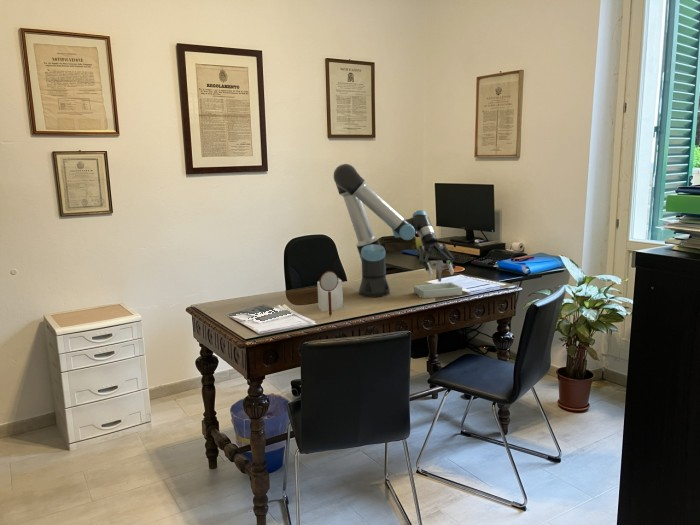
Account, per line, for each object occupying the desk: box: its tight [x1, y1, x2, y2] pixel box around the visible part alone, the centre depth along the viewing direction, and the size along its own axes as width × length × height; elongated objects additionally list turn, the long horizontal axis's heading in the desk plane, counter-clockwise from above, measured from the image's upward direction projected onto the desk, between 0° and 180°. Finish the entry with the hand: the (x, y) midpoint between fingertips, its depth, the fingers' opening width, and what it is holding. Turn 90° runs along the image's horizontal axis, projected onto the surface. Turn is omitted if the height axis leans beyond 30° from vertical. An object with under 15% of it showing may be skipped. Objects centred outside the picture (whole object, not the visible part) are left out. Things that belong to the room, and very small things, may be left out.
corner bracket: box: [316, 277, 344, 313], centre depth 252 cm, size 11×11×12 cm
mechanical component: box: [427, 259, 450, 283], centre depth 268 cm, size 3×10×10 cm, turn 89°
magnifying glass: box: [318, 270, 339, 318], centre depth 236 cm, size 9×2×20 cm, turn 116°
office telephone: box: [227, 303, 292, 321], centre depth 244 cm, size 23×3×20 cm
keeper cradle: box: [413, 281, 463, 299], centre depth 270 cm, size 20×12×4 cm, turn 106°
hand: (442, 274), depth 265 cm, fingers closed on mechanical component, 10 cm apart
